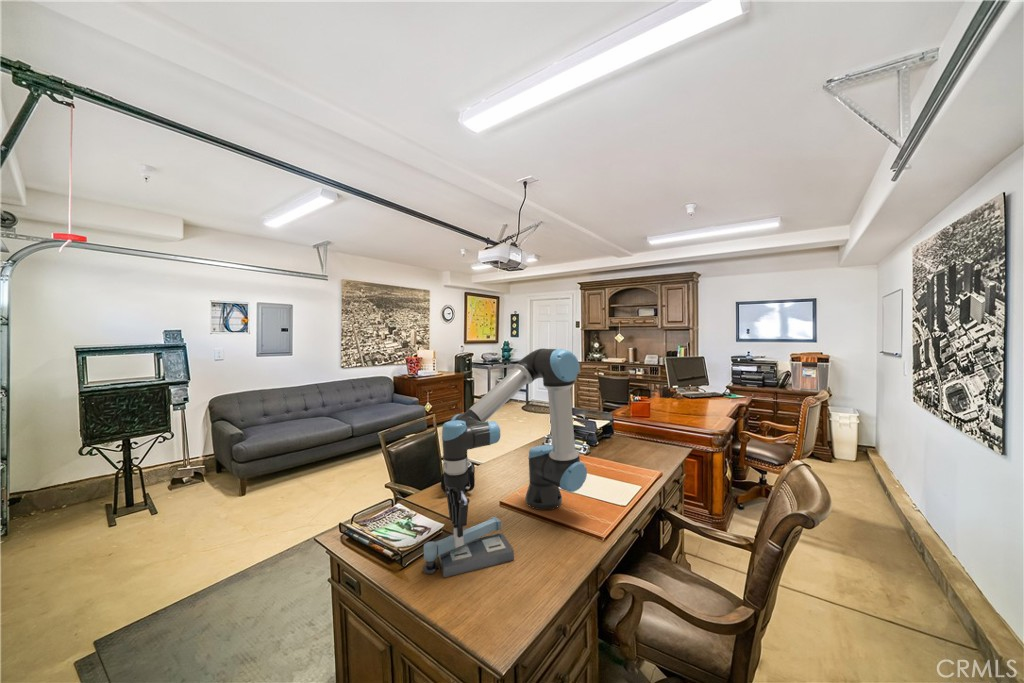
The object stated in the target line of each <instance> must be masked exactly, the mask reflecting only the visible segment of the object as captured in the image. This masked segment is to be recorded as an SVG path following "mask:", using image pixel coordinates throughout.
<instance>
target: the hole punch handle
mask: <svg viewBox="0 0 1024 683" xmlns="http://www.w3.org/2000/svg"><path fill="white" fill-rule="evenodd" d="M501 530H502V521H501V520H500V519H499V518H498V517H496V516H491V517H490V519H488V520H485V521H483V522H480V523H478V524H476V525H474V526H471V527H468V528H466V529H463V537H464V544H466V543H468V542H470V541H472V540H475V539H477V538H482V537H485V536H487V535H488V534H491V533H493V532H495V531H499V532H500V531H501ZM454 548H456V547H455V546H454V534H451V535H449V536H447V537H444V538H442V539H438V540H437V541H427V542H426V543H424V544H423V560H424V561H425V562H426V561H427V562H431V561H434V560H436V561H437V559H438V555H441V554H443V553H445V552H447V551H450V550H452V549H454Z"/></svg>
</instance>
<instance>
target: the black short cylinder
mask: <svg viewBox="0 0 1024 683" xmlns="http://www.w3.org/2000/svg"><path fill="white" fill-rule="evenodd" d="M436 561H437V559H436V560H434V561H431V562H427V561H425V564H423V566H422V572H423V574H424V575H429V576H430V575H434V574H436V573H437V572H439V570H440V563H439V562H436Z"/></svg>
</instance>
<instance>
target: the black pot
mask: <svg viewBox="0 0 1024 683" xmlns="http://www.w3.org/2000/svg"><path fill="white" fill-rule="evenodd" d="M475 468H476V467H475V463H474V461H469V460H468V469H467V471H468V483H467V484H466V485H465V486H464V489H465V493H467V492H471V491H473V490H474V488H475V480H476V479H475V473H476V472H475V470H476V469H475ZM442 469H443V470H442V472H443V473H442V474H441V475H440V486H441V487H440V488H441V489H442V492H444V493H446V491H445V488H447V486H446V485H445V484H444V473H445V472H444V466H443V465H442Z"/></svg>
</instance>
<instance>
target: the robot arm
mask: <svg viewBox="0 0 1024 683" xmlns="http://www.w3.org/2000/svg"><path fill="white" fill-rule="evenodd" d="M579 373H580V362H579V360H578V357H577V356H576V354H575V353H573V352H572V351H571V350H568V349H562V348H538V349H535V350H533V351H531V352H530V353H528V354H527V355H525V356H524V357H523V358H521V359H520V360H519V361H517V363H516V364H514V367H513V369H512V370H511V371H510V372H509V373H508V374H507V375H506V376H505V377H504V378H502V379H501V380H500V381H499V382H498V383H497V384H495V385H494V386H493V387H492V388H491V389H490V390H489V391H487V393H485V394H484V395H483V396H482V397H481V398H479V399H478V401H477V402H475V403H474V404H473V405H472V406H471V407H470V408H468V409H467V410H466V411H465V412H464V413H458V414H456V415H454V416H452V418H451V419H450V420H449V421H445V422H444V423H443V425H442V427H441V428H442V430H441V440H442V455H443V457H442V460H443V463H442V467H443V466H444V472H445V473H444V484H445V486H446V488H445V491H446V492H445V495H446V500H447V501H446V502H447V507H448V515H449V520H450V521H451V523H452V525H453V535H454V546H455V547H456V548H457V547H460V546H462V545H464V537H463V530H464V527H466V526H467V524H468V514H469V504H470V498H469V497H466V492H465V489H464V486H465V485H466V484H467V483H468V471H467V469H468V461H469V459H468V451H469V450H473V449H478V448H483V447H486V446H491V445H495V444H497V443H498V442H499V441H500V439H501V427H500V426H499V424H498V423H497V422H496V421H494V420H489V419H490V418H491V417H492V416H494V414H496V412H498V411H499V410H500V409H501V408H502V407H503V406H504V405H505V404H506V403H507V402H509V401H510V399H511V398H513V397H514V396H515V395H516V394H517V393H518V392H519V391H521V389H522V388H524V387H525V385H527V384H529V385H530V384H532V383H533V382H534V381H535V380H536V379H540V378H541V379H542V384H543V387H545V389H547V395H548V397H547V398H548V409H549V419H550V435H551V444H552V445H551V444H550V445H549V444H544V445H542V444H541V445H537V446H533V447H531V448H530V449H529V450H528V457H527V458H528V472H529V473H528V477H529V478H528V479H529V484H528V488H527V491H526V494H525V503H526V502H527V503H526V505H527V504H528V505H530V506H531V507H530V506H529V507H530V508H532V507H534V508H537V509H536V510H539V509H550V510H554V509H557V508H558V507H557V506H559V505H560V504H561V503H563V496H562V493H561V490H563V491H566V492H569V493H574V492H577V491H578V490H580V489H581V488H582V487H583V484H584V483H585V481H586V480H587V475H588V469H587V466H586V465H585V464H584V462H581V458H580V457H581V456H580V452H579V450H577V449H576V444H575V432H574V421H573V420H574V418H573V407H572V406H573V405H572V394H571V393H572V392H571V388H572V387H573V386H574V385H575V380H576V379H577V378H578V375H579ZM560 489H561V490H560ZM528 505H527V506H528ZM561 505H562V504H561ZM561 505H560V506H561ZM560 506H559V507H560ZM556 507H557V508H556ZM534 508H533V509H534ZM553 508H554V509H553Z"/></svg>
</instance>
